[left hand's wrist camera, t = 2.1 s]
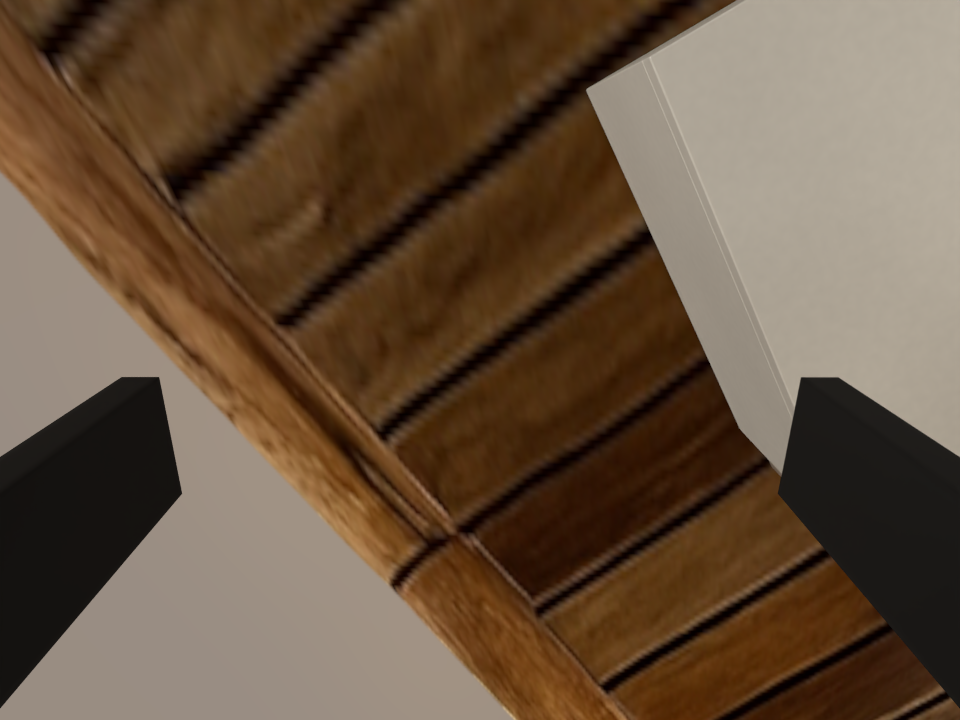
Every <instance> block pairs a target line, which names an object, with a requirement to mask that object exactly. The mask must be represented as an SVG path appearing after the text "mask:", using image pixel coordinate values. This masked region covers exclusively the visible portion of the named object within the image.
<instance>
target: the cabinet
mask: <svg viewBox="0 0 960 720" xmlns="http://www.w3.org/2000/svg"><path fill="white" fill-rule="evenodd" d="M586 91H587V94H588V96H589V98H590V100H591V102H592V105H593V107H594V109H595V111H596V113H597V116H598V118H599V120H600V122H601V124H602V127H603V129H604V131H605V133H606V135H607V138H608V140H609V142H610V144H611V146H612V149H613V151H614V153H615V155H616V157H617V160H618V162H619V164H620V166H621V168H622V171H623V173H624V175H625V177H626V179H627V182H628V184H629V186H630V188H631V190H632V193H633V195H634V197H635V199H636V201H637V204H638V206H639V208H640V210H641V212H642V215H643V217H644V219H645V221H646V223H647V226H648V228H649V230H650V232H651V234H652V237H653V239H654V241H655V243H656V245H657V248H658V250H659V252H660V254H661V256H662V259H663V261H664V263H665V265H666V267H667V270H668V272H669V274H670V276H671V278H672V281H673V283H674V285H675V287H676V289H677V292H678V294H679V296H680V298H681V300H682V303H683V305H684V307H685V309H686V311H687V314H688V316H689V318H690V320H691V322H692V325H693V327H694V329H695V331H696V333H697V336H698V338H699V340H700V342H701V344H702V347H703V349H704V351H705V353H706V356H707V358H708V360H709V362H710V364H711V367H712V369H713V371H714V373H715V375H716V378H717V380H718V382H719V384H720V386H721V389H722V391H723V393H724V395H725V397H726V400H727V402H728V404H729V406H730V408H731V411H732V413H733V415H734V417H735V419H736V422H737V424H738V426H739V428H740V430H741V431H742V432H743V433H744V434H745V435H746V436H747V437H748V438H749V439H750V441H751V442H752V443H753V444H754V445H755V446H756V447H757V448H758V449H759V450H760V451H761V452H762V453H763V454H764V455H765V456H766V457H767V459H768V460H769V461H770V462H771V463H772V464H773V465H774V466H775V467H776V468H777V469H778V470H779V471H780V472H781V473H782V471H783V466H784V460H785V455H786V450H787V445H788V440H789V435H790V430H791V425H792V420H793V415H794V410H795V405H796V400H797V395H798V389H799V384H800V379H801V377H839V378H840V379H842V380H843V381H845V382H846V383H848V384H849V385H851V386H853V387H854V388H856V389H857V390H859V391H860V392H862V393H863V394H865V395H866V396H868V397H869V398H871V399H872V400H874V401H875V402H877V403H878V404H880V405H881V406H883V407H884V408H886V409H888V410H889V411H891V412H892V413H894V414H895V415H897V416H898V417H900V418H901V419H903V420H904V421H906V422H907V423H909V424H910V425H912V426H913V427H915V428H916V429H918V430H919V431H921V432H923V433H924V434H926V435H927V436H929V437H930V438H932V439H933V440H935V441H936V442H938V443H939V444H941V445H942V446H944V447H945V448H947V449H948V450H950V451H951V452H953V453H954V454H956V455H958V456H959V457H960V0H737V1H735V2H733V3H732V4H730V5H728V6H726V7H725V8H723V9H721V10H720V11H718V12H716V13H715V14H713V15H711V16H710V17H708V18H706V19H704V20H703V21H701V22H699V23H698V24H696V25H694V26H693V27H691V28H689V29H687V30H686V31H684V32H682V33H681V34H679V35H677V36H676V37H674V38H672V39H671V40H669V41H667V42H665V43H664V44H662V45H660V46H659V47H657V48H655V49H654V50H652V51H650V52H648V53H647V54H645V55H643V56H642V57H640V58H638V59H637V60H635V61H633V62H631V63H630V64H628V65H626V66H625V67H623V68H621V69H620V70H618V71H616V72H615V73H613V74H611V75H609V76H608V77H606V78H604V79H603V80H601V81H599V82H598V83H596V84H594V85H592V86H591V87H589V88H587V90H586Z"/></svg>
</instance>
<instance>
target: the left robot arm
mask: <svg viewBox="0 0 960 720" xmlns="http://www.w3.org/2000/svg"><path fill="white" fill-rule="evenodd" d="M181 494H182V491H181V486H180V481H179V476H178V471H177V466H176V460H175V455H174V451H173V445H172V440H171V435H170V430H169V425H168V420H167V415H166V410H165V405H164V400H163V395H162V389H161V385H160V379H159V377H121V378H120V379H118V380H117V381H115V382H114V383H112V384H111V385H109V386H108V387H106V388H104V389H103V390H101V391H100V392H98V393H97V394H95V395H94V396H92V397H91V398H89V399H88V400H86V401H85V402H83V403H82V404H80V405H79V406H77V407H76V408H74V409H73V410H71V411H70V412H68V413H66V414H65V415H63V416H62V417H60V418H59V419H57V420H56V421H54V422H53V423H51V424H50V425H48V426H47V427H45V428H44V429H42V430H41V431H39V432H37V433H36V434H34V435H33V436H31V437H30V438H28V439H27V440H25V441H24V442H22V443H21V444H19V445H18V446H16V447H15V448H13V449H12V450H10V451H9V452H7V453H6V454H4V455H3V456H1V457H0V708H1V707H2V706H3V704H4V703H5V702H6V701H7V700H8V698H9V697H10V696H11V695H12V694H13V693H14V691H15V690H16V689H17V688H18V687H19V686H20V684H21V683H22V682H23V681H24V680H25V678H26V677H27V676H28V675H29V674H30V673H31V671H32V670H33V669H34V668H35V667H36V665H37V664H38V663H39V662H40V661H41V659H42V658H43V657H44V656H45V655H46V654H47V652H48V651H49V650H50V649H51V648H52V646H53V645H54V644H55V643H56V642H57V641H58V639H59V638H60V637H61V636H62V635H63V634H64V632H65V631H66V630H67V629H68V628H69V626H70V625H71V624H72V623H73V622H74V621H75V619H76V618H77V617H78V616H79V615H80V613H81V612H82V611H83V610H84V609H85V608H86V606H87V605H88V604H89V603H90V602H91V600H92V599H93V598H94V597H95V596H96V595H97V593H98V592H99V591H100V590H101V589H102V588H103V586H104V585H105V584H106V583H107V582H108V580H109V579H110V578H111V577H112V576H113V574H114V573H115V572H116V571H117V570H118V569H119V567H120V566H121V565H122V564H123V563H124V561H125V560H126V559H127V558H128V557H129V556H130V554H131V553H132V552H133V551H134V550H135V549H136V547H137V546H138V545H139V544H140V543H141V541H142V540H143V539H144V538H145V537H146V536H147V534H148V533H149V532H150V531H151V530H152V528H153V527H154V526H155V525H156V524H157V523H158V521H159V520H160V519H161V518H162V517H163V515H164V514H165V513H166V512H167V511H168V510H169V508H170V507H171V506H172V505H173V504H174V502H175V501H176V500H177V499H178V498H179V497H180V495H181ZM778 494H779V495H780V497H781V498H782V499H783V500H784V501H785V503H786V504H787V505H788V506H789V507H790V508H791V510H792V511H793V512H794V513H795V514H796V515H797V517H798V518H799V519H800V520H801V521H802V523H803V524H804V525H805V526H806V527H807V528H808V530H809V531H810V532H811V533H812V534H813V536H814V537H815V538H816V539H817V540H818V541H819V543H820V544H821V545H822V546H823V547H824V549H825V550H826V551H827V552H828V553H829V554H830V556H831V557H832V558H833V559H834V560H835V562H836V563H837V564H838V565H839V566H840V567H841V569H842V570H843V571H844V572H845V573H846V575H847V576H848V577H849V578H850V579H851V580H852V582H853V583H854V584H855V585H856V586H857V588H858V589H859V590H860V591H861V592H862V593H863V595H864V596H865V597H866V598H867V599H868V600H869V602H870V603H871V604H872V605H873V606H874V608H875V609H876V610H877V611H878V612H879V613H880V615H881V616H882V617H883V618H884V619H885V621H886V622H887V623H888V624H889V625H890V626H891V628H892V629H893V630H894V631H895V632H896V634H897V635H898V636H899V637H900V638H901V639H902V641H903V642H904V643H905V644H906V645H907V647H908V648H909V649H910V650H911V651H912V652H913V654H914V655H915V656H916V657H917V658H918V660H919V661H920V662H921V663H922V664H923V665H924V667H925V668H926V669H927V670H928V671H929V673H930V674H931V675H932V676H933V677H934V678H935V680H936V681H937V682H938V683H939V684H940V686H941V687H942V688H943V689H944V690H945V691H946V693H947V694H948V695H949V696H950V697H951V698H952V700H953V701H954V702H955V703H956V704H957V706H958V707H959V708H960V457H959V456H958V455H956V454H954V453H953V452H951V451H950V450H948V449H947V448H945V447H944V446H942V445H941V444H939V443H938V442H936V441H935V440H933V439H932V438H930V437H929V436H927V435H926V434H924V433H923V432H921V431H919V430H918V429H916V428H915V427H913V426H912V425H910V424H909V423H907V422H906V421H904V420H903V419H901V418H900V417H898V416H897V415H895V414H894V413H892V412H891V411H889V410H888V409H886V408H884V407H883V406H881V405H880V404H878V403H877V402H875V401H874V400H872V399H871V398H869V397H868V396H866V395H865V394H863V393H862V392H860V391H859V390H857V389H856V388H854V387H853V386H851V385H849V384H848V383H846V382H845V381H843V380H842V379H840V378H839V377H801V379H800V384H799V389H798V395H797V400H796V405H795V410H794V415H793V420H792V425H791V430H790V435H789V440H788V445H787V450H786V455H785V460H784V466H783V471H782V476H781V481H780V486H779V491H778Z"/></svg>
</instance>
